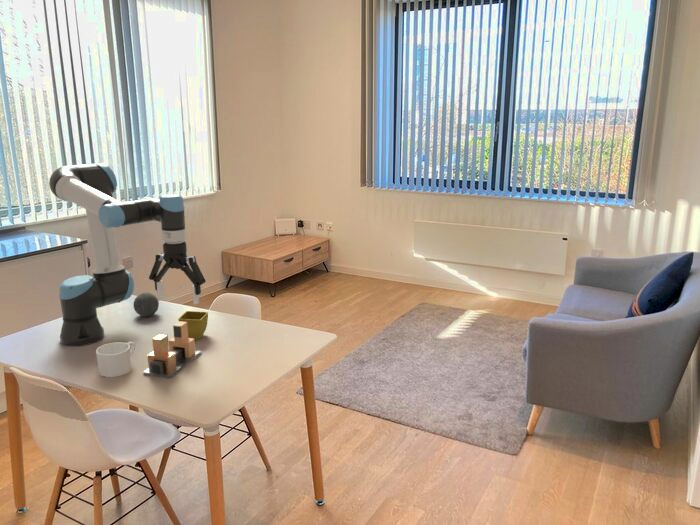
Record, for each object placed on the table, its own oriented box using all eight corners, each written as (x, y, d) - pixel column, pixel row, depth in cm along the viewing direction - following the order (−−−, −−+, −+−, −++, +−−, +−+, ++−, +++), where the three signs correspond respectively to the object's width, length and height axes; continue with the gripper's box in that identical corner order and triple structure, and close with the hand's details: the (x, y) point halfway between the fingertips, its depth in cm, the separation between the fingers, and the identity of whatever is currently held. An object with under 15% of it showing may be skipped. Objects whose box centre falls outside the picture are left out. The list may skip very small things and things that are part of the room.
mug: (111, 380, 182) (109, 357, 180) (91, 372, 187) (88, 350, 185) (146, 365, 193) (144, 343, 191) (126, 358, 198) (124, 336, 196)
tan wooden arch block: (195, 353, 201) (193, 322, 198) (188, 358, 196) (186, 327, 193) (175, 350, 203) (173, 320, 200) (168, 355, 198) (166, 325, 195)
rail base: (143, 374, 186) (140, 339, 183) (176, 350, 205) (174, 318, 202) (170, 378, 184) (167, 342, 181) (201, 353, 203) (199, 321, 199)
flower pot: (209, 333, 221) (208, 311, 219) (202, 342, 213) (200, 319, 210) (188, 332, 222) (186, 310, 219) (179, 341, 213) (177, 318, 211)
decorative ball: (164, 315, 239) (162, 293, 236) (141, 321, 232) (139, 298, 229) (152, 310, 246) (150, 288, 243) (130, 315, 239) (128, 293, 236)
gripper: (135, 241, 189) (140, 301, 194) (202, 246, 183) (205, 308, 188) (148, 236, 196) (153, 294, 201) (213, 241, 190) (216, 301, 195)
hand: (178, 301), depth 195 cm, fingers open, 13 cm apart
